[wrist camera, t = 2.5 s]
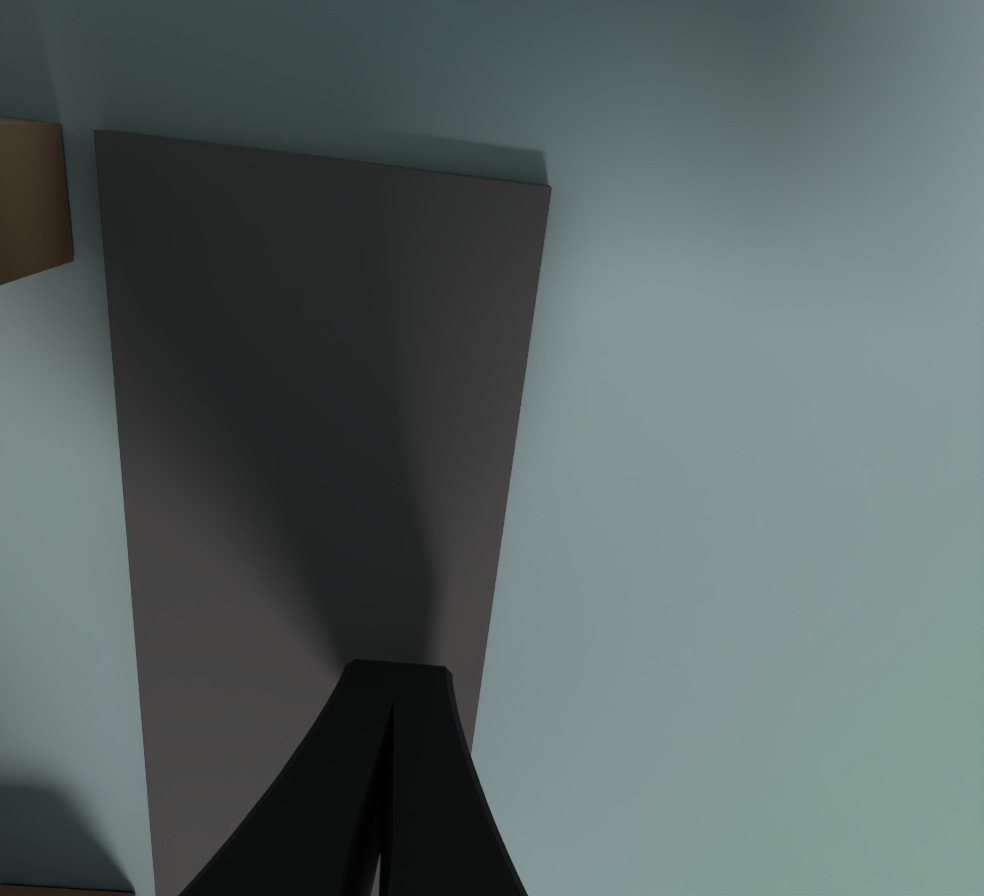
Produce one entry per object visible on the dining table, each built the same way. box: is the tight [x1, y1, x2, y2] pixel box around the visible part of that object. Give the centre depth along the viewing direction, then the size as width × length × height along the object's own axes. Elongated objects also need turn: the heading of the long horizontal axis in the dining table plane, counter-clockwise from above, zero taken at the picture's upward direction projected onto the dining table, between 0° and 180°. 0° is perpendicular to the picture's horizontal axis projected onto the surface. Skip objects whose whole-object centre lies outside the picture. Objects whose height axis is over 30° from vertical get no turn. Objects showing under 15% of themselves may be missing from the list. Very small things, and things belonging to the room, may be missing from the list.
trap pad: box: [94, 130, 552, 896], centre depth 11 cm, size 14×5×1 cm, turn 173°
